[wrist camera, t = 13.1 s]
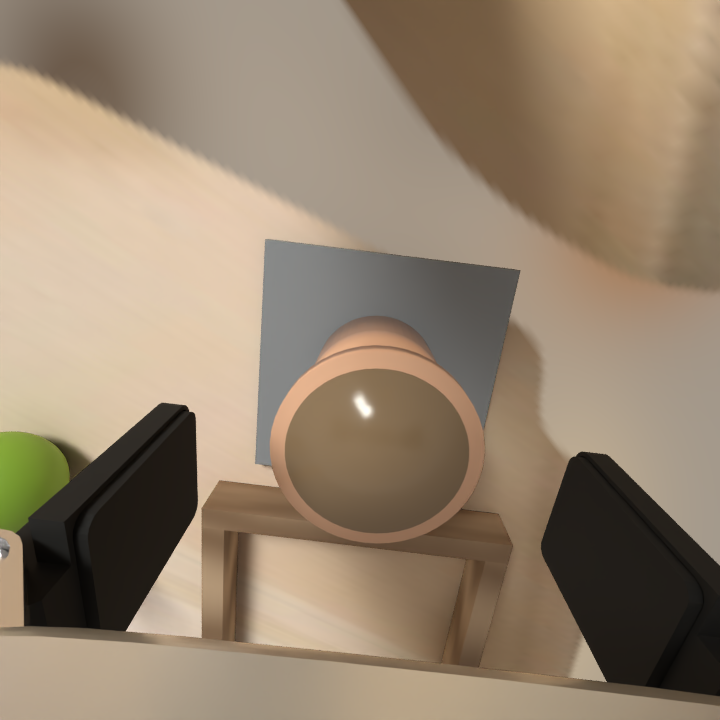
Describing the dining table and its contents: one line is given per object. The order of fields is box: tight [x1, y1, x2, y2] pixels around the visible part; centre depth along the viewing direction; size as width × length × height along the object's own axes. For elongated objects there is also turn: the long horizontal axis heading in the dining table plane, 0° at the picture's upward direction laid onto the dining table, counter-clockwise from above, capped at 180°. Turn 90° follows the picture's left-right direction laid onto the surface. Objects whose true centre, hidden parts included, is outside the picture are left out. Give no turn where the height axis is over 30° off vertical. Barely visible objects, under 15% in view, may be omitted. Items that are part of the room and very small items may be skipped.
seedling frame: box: [202, 481, 513, 667], centre depth 24 cm, size 16×16×2 cm
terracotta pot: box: [270, 316, 485, 543], centre depth 16 cm, size 7×7×8 cm
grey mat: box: [255, 239, 520, 466], centre depth 21 cm, size 12×12×1 cm
